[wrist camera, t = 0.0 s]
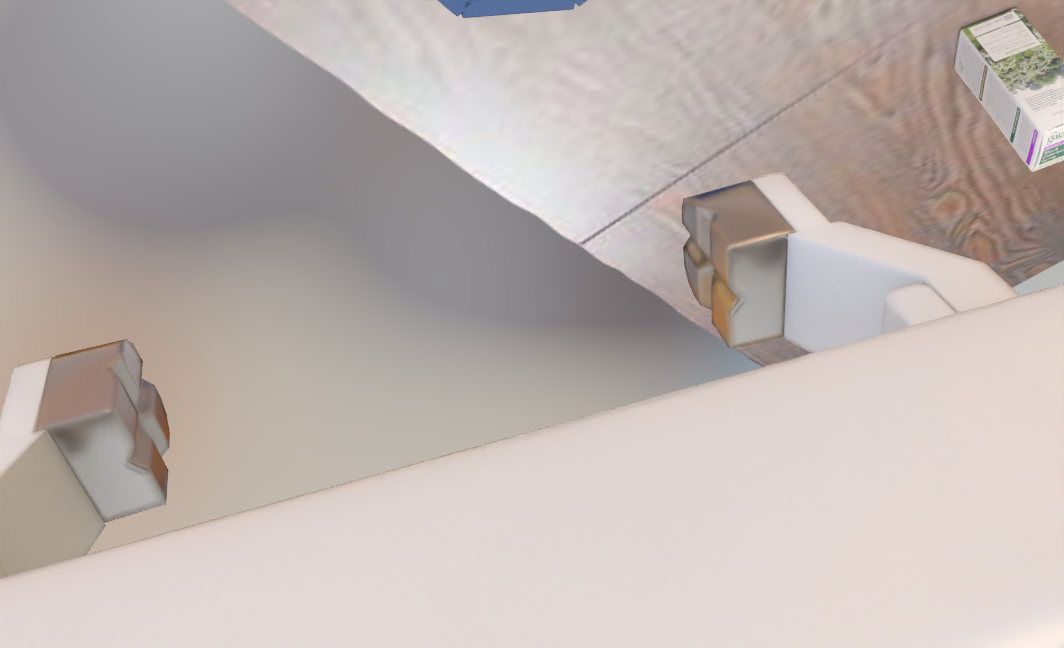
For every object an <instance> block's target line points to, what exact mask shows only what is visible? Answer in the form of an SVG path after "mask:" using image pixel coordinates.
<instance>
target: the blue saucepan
mask: <svg viewBox="0 0 1064 648" xmlns="http://www.w3.org/2000/svg"><path fill="white" fill-rule="evenodd" d="M438 1H439V2H440V3H441V4H443V5H444V6H445V7H446V8H447V9H449V10H450V11H451V12H452V13H454V14H455V15H456V16H459V15H460V14H462V17H463V18H470V17H482V16H495V15H508V14H520V13H533V12H546V11H558V10H571V9H574V5H575V3H576V4H577V5H578V6H581V5H582V4H583V3H584V2H586V1H587V0H438Z"/></svg>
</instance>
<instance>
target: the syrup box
mask: <svg viewBox="0 0 1064 648" xmlns="http://www.w3.org/2000/svg"><path fill="white" fill-rule="evenodd" d="M954 68H955V71H956V72H957V74H958V75H959V76H960V77H961V79H962V80H963V81H964V82H965V84H966V85H967V86H968V87H969V88H970V90H971V91H972V93H973V94H974V95H975V96H976V98H977V99H978V100H979V102H980V103H981V104H982V106H983V107H984V108H985V110H986V111H987V112H988V114H989V115H990V116H991V118H992V119H993V120H994V122H995V123H996V125H997V126H998V127H999V129H1000V130H1001V131H1002V133H1003V134H1004V135H1005V137H1006V138H1007V140H1008V141H1009V143H1010V144H1011V145H1012V147H1013V148H1014V149H1015V151H1016V152H1017V153H1018V155H1019V156H1020V157H1021V159H1022V160H1023V161H1024V163H1025V164H1026V165H1027V166H1028V168H1029V169H1030V170H1031V171H1032V172H1034V171H1036V170H1039V169H1041V168H1044V167H1047V166H1049V165H1052V164H1055V163H1057V162H1060V161H1063V160H1064V62H1063V61H1062V60H1061V59H1060V57H1059V56H1058V55H1057V54H1056V53H1055V51H1054V50H1053V49H1052V48H1051V47H1050V46H1049V44H1048V43H1047V42H1046V41H1045V40H1044V39H1043V37H1042V36H1041V35H1040V34H1039V32H1038V31H1037V30H1036V29H1035V28H1034V27H1033V26H1032V25H1031V23H1030V22H1029V21H1028V20H1027V18H1026V17H1025V16H1024V15H1023V14H1022V12H1021V11H1020V10H1019V9H1018V8H1017V7H1016V8H1013V9H1011V10H1008V11H1006V12H1003V13H1001V14H998V15H996V16H993V17H991V18H988V19H985V20H983V21H980V22H978V23H975V24H973V25H970V26H968V27H965V28H963V29H961V31H960V36H959V40H958V46H957V52H956V58H955V65H954Z"/></svg>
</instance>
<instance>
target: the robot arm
mask: <svg viewBox="0 0 1064 648" xmlns="http://www.w3.org/2000/svg"><path fill="white" fill-rule="evenodd" d="M682 223H683V224H684V226H685V227H686V229H687V230H688V232H689V233H690V235H691V236H690V237H689V239H688V241H687V242H686V244H685V246H684V247H683V251H684V264H685V270H686V274H687V278H688V282H689V285H690V287H691V289H692V292H693V294H694V296H695V298H696V299H697V301H698V302H699V304H700V305H701V306H703V307H706V308H708V309H711V310H712V324H713V325H714V327H715V328H716V330H717V331H718V333H719V334H720V336H721V337H722V339H723V340H724V342H725V343H726V345H727V346H728V348H729V349H730V350H731V349H735V348H739V347H743V346H747V345H751V344H755V343H759V342H763V341H767V340H771V339H775V338H779V337H783V336H784V339H785V340H787V341H789V342H791V343H793V344H795V345H797V346H799V347H801V348H802V349H804V350H806V351H808V352H810V353H811V354H808V355H804V356H801V357H797V358H793V359H790V360H786V361H783V362H779V363H775V364H772V365H768V366H765V367H761V368H758V369H754V370H750V371H747V372H743V373H739V374H736V375H732V376H729V377H725V378H721V379H718V380H714V381H711V382H707V383H704V384H700V385H696V386H693V387H689V388H685V389H682V390H679V391H675V392H671V393H667V394H664V395H660V396H657V397H653V398H649V399H646V400H643V401H639V402H635V403H631V404H628V405H624V406H621V407H617V408H613V409H610V410H606V411H603V412H599V413H595V414H592V415H588V416H585V417H581V418H577V419H574V420H570V421H567V422H563V423H559V424H556V425H552V426H548V427H545V428H541V429H538V430H534V431H531V432H527V433H523V434H520V435H516V436H513V437H509V438H506V439H502V440H498V441H495V442H491V443H487V444H484V445H480V446H477V447H473V448H469V449H466V450H462V451H458V452H455V453H452V454H448V455H444V456H440V457H437V458H433V459H430V460H426V461H422V462H419V463H415V464H411V465H408V466H404V467H401V468H397V469H393V470H390V471H386V472H383V473H379V474H376V475H372V476H368V477H365V478H361V479H357V480H354V481H350V482H347V483H343V484H340V485H336V486H332V487H329V488H325V489H322V490H318V491H314V492H311V493H307V494H303V495H300V496H296V497H293V498H289V499H286V500H282V501H278V502H274V503H271V504H267V505H264V506H260V507H257V508H253V509H249V510H246V511H242V512H238V513H235V514H231V515H228V516H224V517H221V518H217V519H213V520H210V521H206V522H202V523H199V524H195V525H192V526H188V527H185V528H181V529H177V530H174V531H170V532H167V533H163V534H159V535H156V536H152V537H148V538H145V539H141V540H138V541H134V542H130V543H127V544H123V545H120V546H116V547H112V548H109V549H105V550H101V551H98V552H94V553H91V554H87V553H88V551H89V550H90V548H91V547H92V545H93V544H94V542H95V541H96V539H97V538H98V536H99V535H100V533H101V532H102V530H103V529H104V527H105V526H106V525H105V524H104V523H105V522H109V521H112V520H115V519H119V518H122V517H125V516H129V515H132V514H135V513H138V512H142V511H145V510H149V509H152V508H155V507H159V506H162V505H165V504H166V498H167V480H168V469H167V467H166V465H165V463H164V461H163V460H162V456H163V455H164V453H165V452H166V451H167V450H168V448H169V434H170V432H169V426H168V421H167V415H166V412H165V408H164V406H163V403H162V400H161V397H160V395H159V393H158V391H157V389H156V387H155V385H153V384H151V383H150V382H147V381H146V380H144V379H142V378H141V376H142V363H143V361H142V359H141V358H140V356H139V354H138V352H137V350H136V348H135V347H134V345H133V343H131V342H130V341H128V340H127V339H125V340H121V341H117V342H112V343H108V344H104V345H100V346H96V347H92V348H87V349H82V350H78V351H74V352H70V353H65V354H61V355H57V356H55V357H48V358H44V359H40V360H36V361H33V362H29V363H25V364H21V365H18V366H17V367H16V368H15V369H13V371H12V375H11V378H10V382H9V386H8V390H7V394H6V398H5V402H4V406H3V409H2V413H1V417H0V648H1064V284H1061V285H1057V286H1054V287H1050V288H1046V289H1043V290H1040V291H1036V292H1032V293H1028V294H1025V295H1022V296H1020V295H1019V294H1018V293H1017V292H1016V291H1014V289H1013V288H1011V287H1010V286H1009V285H1008V284H1007V283H1006V282H1005V281H1004V280H1003V279H1002V278H1000V277H999V276H998V275H997V274H996V273H995V272H994V271H993V270H992V269H991V268H989V267H988V266H987V265H986V264H985V263H984V262H980V261H977V260H973V259H970V258H966V257H963V256H959V255H956V254H952V253H949V252H946V251H942V250H939V249H935V248H932V247H928V246H925V245H921V244H918V243H914V242H911V241H908V240H904V239H901V238H897V237H894V236H890V235H887V234H883V233H880V232H876V231H873V230H870V229H866V228H863V227H859V226H856V225H852V224H849V223H845V222H842V221H839V222H835V223H831V222H830V221H829V220H828V219H827V218H826V217H825V216H824V215H823V214H822V213H821V212H820V211H819V210H818V209H817V208H816V207H815V206H814V205H813V204H812V203H811V202H810V201H809V200H808V198H807V197H806V196H805V195H804V194H803V193H802V192H801V191H800V190H799V189H798V188H797V187H796V186H795V185H794V184H793V183H792V182H791V181H790V180H789V179H788V178H787V177H786V175H785V174H784V173H780V172H775V173H771V174H768V175H764V176H761V177H757V178H754V179H751V180H747V181H746V182H742V183H738V184H735V185H731V186H727V187H724V188H720V189H716V190H713V191H709V192H705V193H702V194H698V195H695V196H691V197H687V198H684V199H683V204H682ZM86 554H87V555H86Z"/></svg>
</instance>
